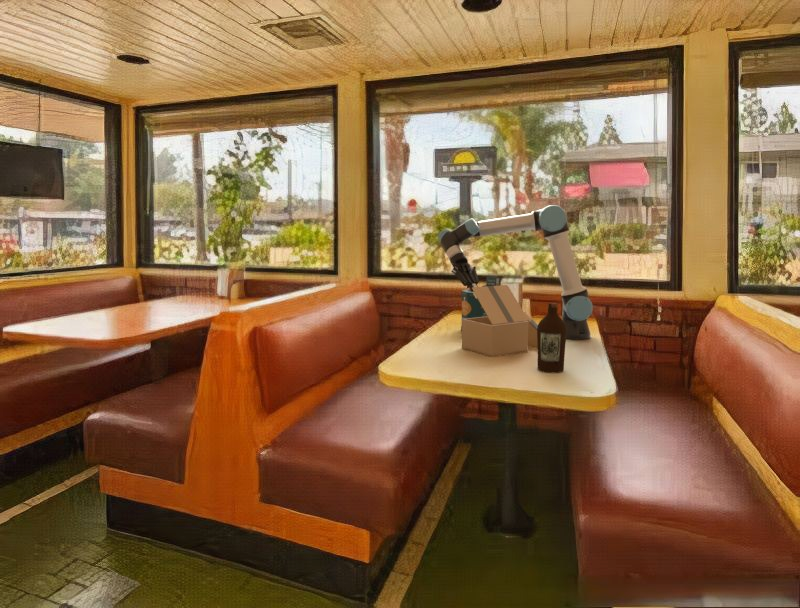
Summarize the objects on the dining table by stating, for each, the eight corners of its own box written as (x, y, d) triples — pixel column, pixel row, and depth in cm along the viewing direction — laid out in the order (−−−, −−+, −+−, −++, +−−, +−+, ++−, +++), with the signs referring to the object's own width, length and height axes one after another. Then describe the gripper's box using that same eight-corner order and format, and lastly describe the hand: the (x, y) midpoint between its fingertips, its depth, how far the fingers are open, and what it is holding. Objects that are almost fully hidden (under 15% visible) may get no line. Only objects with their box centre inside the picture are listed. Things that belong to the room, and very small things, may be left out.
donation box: (499, 333, 279) (500, 278, 275) (469, 335, 274) (470, 278, 271) (485, 328, 294) (487, 275, 290) (457, 329, 290) (458, 276, 286)
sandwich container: (556, 348, 243) (557, 315, 241) (521, 346, 248) (522, 313, 246) (557, 345, 251) (559, 312, 249) (523, 342, 256) (524, 310, 254)
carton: (461, 348, 244) (462, 319, 242) (496, 343, 254) (497, 315, 253) (491, 357, 227) (492, 325, 225) (527, 351, 237) (528, 321, 236)
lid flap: (471, 288, 235) (472, 287, 235) (506, 285, 245) (507, 284, 245) (492, 325, 225) (493, 324, 225) (528, 320, 235) (528, 320, 235)
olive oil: (537, 365, 213) (539, 300, 210) (566, 367, 209) (569, 302, 206) (533, 371, 203) (536, 304, 200) (563, 374, 200) (566, 305, 196)
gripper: (464, 262, 264) (486, 300, 252) (442, 263, 258) (463, 302, 246) (471, 251, 259) (494, 290, 247) (449, 252, 252) (470, 292, 240)
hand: (478, 296), depth 246 cm, fingers closed
